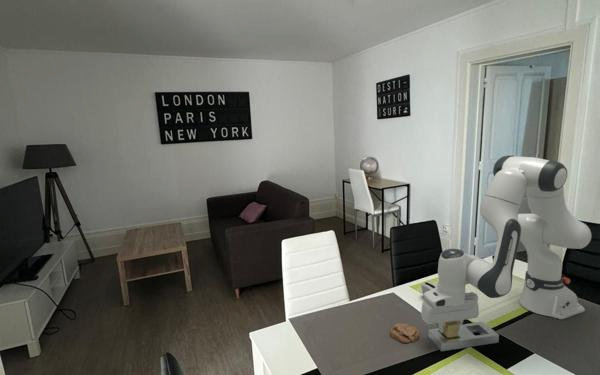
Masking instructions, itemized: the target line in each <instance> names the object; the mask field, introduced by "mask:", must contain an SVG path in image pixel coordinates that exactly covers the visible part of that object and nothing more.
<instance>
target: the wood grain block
mask: <svg viewBox="0 0 600 375" xmlns="http://www.w3.org/2000/svg"><path fill="white" fill-rule="evenodd" d="M442 326H444V327H445V328H446V332H445V333H441V334H442V336H443V337H444V338H445V339H446V340H450V339H457V338H458V323H457V322H456V321H451V322H444V323H443V325H442Z"/></svg>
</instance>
